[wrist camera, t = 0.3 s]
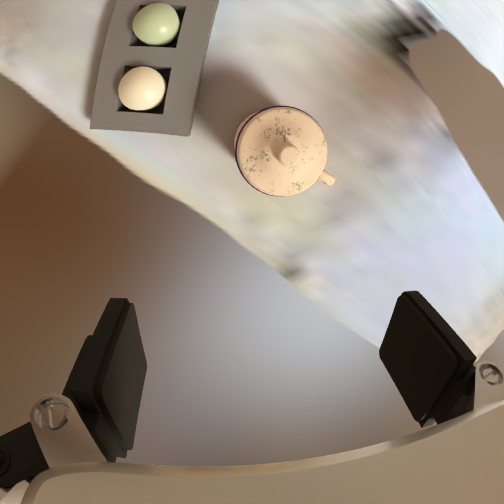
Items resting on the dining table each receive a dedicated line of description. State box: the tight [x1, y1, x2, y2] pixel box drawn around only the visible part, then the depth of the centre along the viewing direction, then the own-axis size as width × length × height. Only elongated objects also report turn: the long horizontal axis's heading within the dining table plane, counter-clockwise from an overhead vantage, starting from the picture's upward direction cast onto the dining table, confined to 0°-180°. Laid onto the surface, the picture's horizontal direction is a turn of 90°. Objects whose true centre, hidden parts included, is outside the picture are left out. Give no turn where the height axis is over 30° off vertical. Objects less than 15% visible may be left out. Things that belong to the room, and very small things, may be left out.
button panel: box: [90, 0, 219, 137], centre depth 27 cm, size 26×12×3 cm, turn 169°
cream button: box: [118, 66, 167, 110], centre depth 29 cm, size 5×5×3 cm
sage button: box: [132, 3, 181, 47], centre depth 25 cm, size 5×5×3 cm
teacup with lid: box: [234, 106, 335, 197], centre depth 31 cm, size 12×9×12 cm
